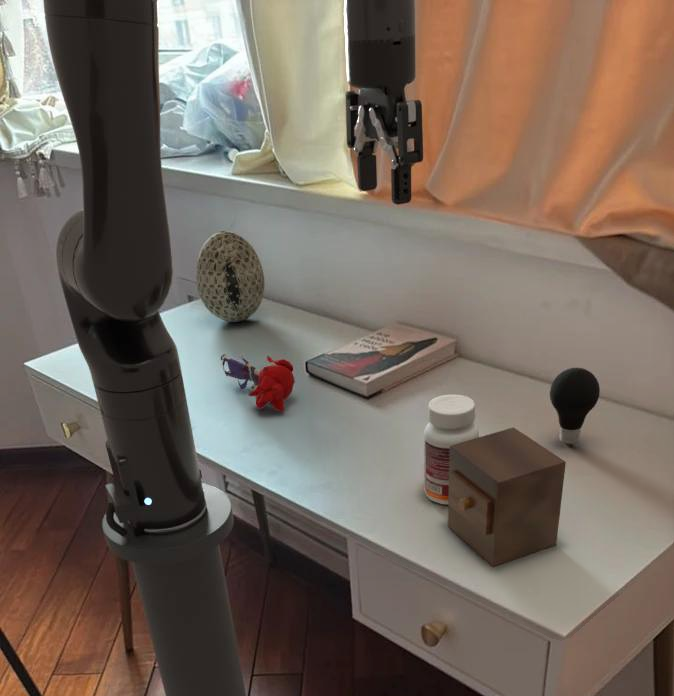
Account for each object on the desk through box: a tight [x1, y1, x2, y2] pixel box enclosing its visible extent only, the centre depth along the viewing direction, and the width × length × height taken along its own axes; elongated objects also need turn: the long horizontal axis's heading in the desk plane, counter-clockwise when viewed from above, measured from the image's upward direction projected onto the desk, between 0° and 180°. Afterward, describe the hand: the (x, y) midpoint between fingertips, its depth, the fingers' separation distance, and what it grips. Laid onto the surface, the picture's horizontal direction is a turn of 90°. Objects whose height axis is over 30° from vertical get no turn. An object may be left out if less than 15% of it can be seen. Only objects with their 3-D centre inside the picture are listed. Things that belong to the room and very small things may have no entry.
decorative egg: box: [195, 230, 266, 323], centre depth 148 cm, size 12×12×15 cm
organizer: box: [447, 427, 567, 567], centre depth 89 cm, size 9×9×10 cm
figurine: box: [220, 354, 296, 413], centre depth 123 cm, size 6×8×15 cm
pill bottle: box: [423, 394, 480, 506], centre depth 97 cm, size 6×6×11 cm
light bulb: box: [549, 367, 601, 446], centre depth 105 cm, size 6×6×10 cm
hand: (384, 196), depth 101 cm, fingers open, 8 cm apart
